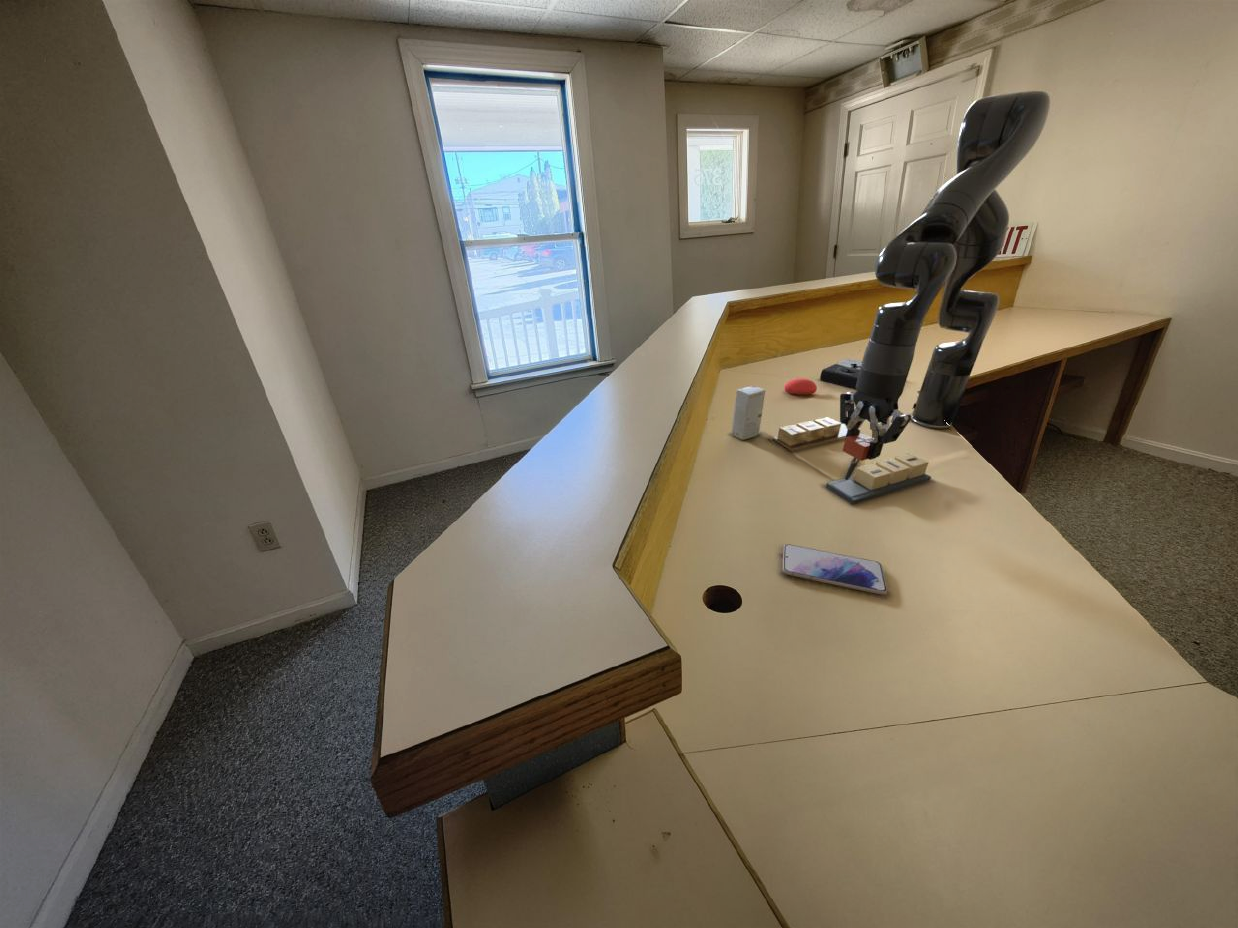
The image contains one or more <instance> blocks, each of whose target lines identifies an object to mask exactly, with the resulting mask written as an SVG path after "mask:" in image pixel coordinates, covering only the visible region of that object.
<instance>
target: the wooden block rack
mask: <svg viewBox="0 0 1238 928" xmlns="http://www.w3.org/2000/svg"><path fill="white" fill-rule="evenodd" d="M928 465H929V461H926V460H925V459H924V458H921V457H919V456H916V455H915V454H912V453H911V452H909V453H908V452H907V453H906V454H901V455H898V456H897V455H896V456H895V457H894V458H892V457H889V458H885V459H883V460H879V461H876V462H875V463H873V462H872V463H868V464H863V465H861V466H857V467H856V468H855V473H854V475H851V476H850V477H849V479H848V480H847V479H845V477H843V478H840V479H837V480H833V481H829V482H826V484H825V488H827V489H828V490H830V491H831V492H833V493H835V494H836V495H837V496H839V497H840V498H842V499H843V500H845V501H846V502H848V503H850V504H851V505H856V504H858V503H861V502H865V501H869V500H872V499H874V498H879V497H882V496H885V495H888V494H891V493H895V492H897V491H900V490H904V489H907V488H911V487H915V486H917V485H920V484H923V483H926V482H930V481H931V479H932V476H931V475H929V474H927V473H926V471H927V468H928Z"/></svg>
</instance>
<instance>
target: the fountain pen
mask: <svg viewBox="0 0 1238 928" xmlns="http://www.w3.org/2000/svg"><path fill="white" fill-rule="evenodd" d="M858 462H859V460H858V459H856V458H855V457H852V460H851V462H850V465H849V467H848V469H847V471H846V474H845V477H844V478H845V479H847V480H848V479H849V477H850V476H852V474H853V473H854V470H855V469H856V466H857V464H858Z"/></svg>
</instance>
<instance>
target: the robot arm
mask: <svg viewBox="0 0 1238 928" xmlns="http://www.w3.org/2000/svg"><path fill="white" fill-rule="evenodd" d="M1050 107H1051V99H1050V96H1049V94H1048V93H1047V92H1045V91H1043V90H1029V91H1028V90H1027V91H1019V92H1011V93H1002V94H995V95H989V96H985V97H980V98H978V99H977V100H975V101H974V102H972V104H971V105H970V106H969V107H968V109H967V110H966V112H965V114H964V117H963V119H962V122H961V126H960V129H959V135H958V141H957V152H956V153H957V154H956V175H955V176H954V177H953V178H951V179H949V180H948V181H947V182H946V183H944V184H943V185H942V186H941V187H940V188H939V189H938V190H937V191H936V192H935V193H934V195H933V196H932V198H930V200H929V201H928V203H927V204H926V206H925V208H923V211H922V212H921V214H920V215H919V217H918V218H917V219H915V220H914V221H913V222H911V223H910V224H908V226H906V227H905V228H904V229H903V230H902V231H900V233H898V234H897V235H896V236H894V238H892V239H891V240H890V241H889V242H888V243H887V245H886V246H885V247H884V248H883V250H882V251H881V253H880V254H879V256H878V258H877V261H876V264H875V269H874V274H875V278H876V281H877V283H878V284H880V285H881V286H884V287H886V288H895V289H904V290H905V289H906V290H913V291H914V290H915V291H916V292H915V294H914V295H913V296H912V298H911V299H909V300H908V301H902V302H901V301H900V302H890V303H885V304H883V305H881V306H880V307H878V309H877V311H876V314H875V318H874V321H873V325H872V330H871V333H870V338H869V340H868V343H867V346H866V347H865V350H864V353H863V357H862V360H861V361H862V364H861V368H860V372H859V376H858V380H857V383H856V389H855V390H856V391H848V392H843V393H840V395H839V422H840V423H842V424H844V425H846V428H847V429H848V430H847V434H846V436H845V438H844V440H845V439H846V437H850V436H854V435H859V434H861V429H860V428H862V425H863V424H864V422H865V421H868V422H869V430H871V437H872V441H871V442H870V445H869V446H870V447H869V450H868V453H867V457H866V458H867V459H866V460H870V461H871V460H875V459H877V458H879V457H880V456H881V453H882V450H883V448H884V445H885V444H886V445H887V444H889V443H893V442H896V441H897V440H898V438H899V437H900V436H901V434H902V433H903V431H904V430H905V429H906V428H907V426H908V424H909V423H910V422H911V421H912V422H913V423H915V424H917V425H919V426H922V427H925V428H930V429H943V430H944V429H948V428H950V426H951V427H952V425H953V423H954V421H955V419H956V416H957V413H958V411H959V408H960V405H961V403H962V400H963V397H964V395H965V392H966V387H967V384H968V382H969V379H970V377H971V374H972V371H973V369H974V367H975V364H976V362H977V359H978V356H979V353H980V351H981V349H982V346H983V344H984V340H985V338H986V336H987V334H988V331H989V330H990V327H991V325H992V323H993V320H994V319H995V316H996V314H997V313H998V312H997V311H998V309H999V305H1000V296H999V294H998V293H995V292H988V291H976V290H966V289H964V287H965V285H966V284H967V283H968V282H969V281H970V280H971V279H972V278H973V277H975V276H976V275H977V274H978V273H980V272H981V271H982V270H983V269H985V268H986V267H987V266H988V265H989V264H990V263H992V261H994V260H995V259H996V258H997V256H999V254H1000V253H1001V251H1002V249H1003V247H1004V244H1005V240H1006V236H1007V231H1008V227H1009V222H1010V214H1009V209H1008V207H1007V205H1006V204H1005V201H1004V199H1003V198H1002V197H1001V195H1000V194H999V192H998V191H997V188H998V187H999V186H1000V185H1001V184H1002V183H1003V182H1004V180H1006V179H1007V177H1008V176H1009V175H1011V173H1012V172H1013V171H1014V170H1015V169H1016V168H1017V166H1018V165H1019V164H1021V162H1022V161H1023V160H1024V159H1025V158H1026V157H1027V155H1028V154H1029V153H1030V151H1031V150H1032V149H1033V148H1034V146H1035V145H1036V143H1037V141H1038V140H1039V139H1040V137H1041V134H1042V132H1043V130H1044V127H1045V124H1046V122H1047V119H1048V116H1049V111H1050ZM942 288H943V290H942ZM941 290H942V295H941V301H940V304H939V308H938V312H937V313H938V315H937V324H938V326H939V327H940V328H941V329H944V330H948V331H954V332H960V333H967V334H968V335H967V337H965V338H963V339H960V340H957V341H951V342H944V343H939V344H937V345H936V346H935V347H934V348H933V351H932V353H931V357H930V359H929V363H928V365H927V369H926V372H925V374H924V377H923V380H922V384H921V386H920V389H919V393H918V395H917V399H916V401H915V403H913V405H912V408H911V410H912V413H911V414H909V413H908V414H904V413H903V412H902V411H901V410H899V400H900V398H901V397H902V395H903V392H904V389H905V387H906V383H907V380H908V377H909V374H910V370H911V367H912V364H913V361H914V357H915V350H916V346H917V342H918V339H919V336H920V334H921V330H922V326H923V324H924V321H925V318H926V316H927V314H928V312H929V310H930V308H931V307H932V305H933V303H934V301H935V299H936V298H937V296H938V294H939V293H940V291H941ZM891 417H892V419H890V418H891ZM944 420H945V421H944ZM946 422H947V423H948V424H949V425H950V426H949V425H947V424H946Z"/></svg>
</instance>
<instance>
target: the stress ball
mask: <svg viewBox="0 0 1238 928" xmlns="http://www.w3.org/2000/svg"><path fill="white" fill-rule="evenodd" d="M817 388H818V387H817V384H816V382H814V381H813V380H811V379H808V378H799V377H798V378H793V379H791V380H788V381H787V382H785V384H784V386H783V390H784V392H786V393H788V394H790V395H791V394H792V395H803V396H809V395H813V394H815V393H816V392H817V390H818V389H817Z"/></svg>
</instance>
